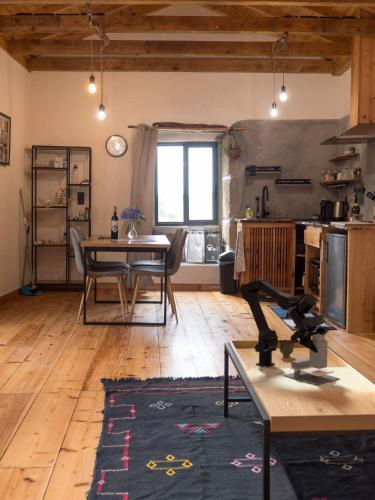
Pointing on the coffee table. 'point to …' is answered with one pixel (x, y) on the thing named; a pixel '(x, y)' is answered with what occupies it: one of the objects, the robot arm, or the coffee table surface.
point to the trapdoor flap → (309, 368)
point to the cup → (286, 347)
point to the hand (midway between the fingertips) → (321, 351)
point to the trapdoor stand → (310, 377)
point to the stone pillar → (320, 357)
